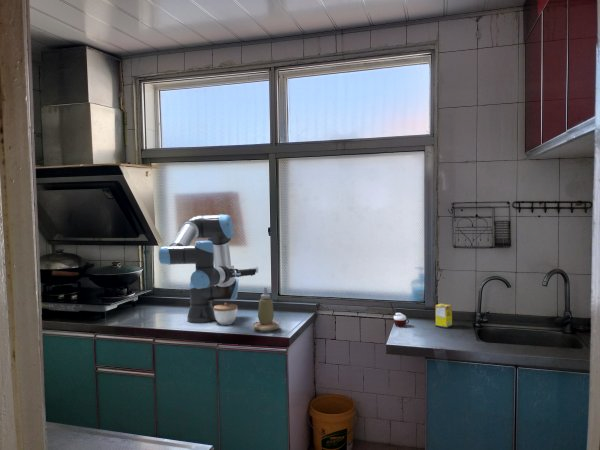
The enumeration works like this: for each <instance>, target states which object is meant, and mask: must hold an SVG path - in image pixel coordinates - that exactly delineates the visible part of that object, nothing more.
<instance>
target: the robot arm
mask: <svg viewBox="0 0 600 450" xmlns="http://www.w3.org/2000/svg"><path fill="white" fill-rule="evenodd" d="M177 232H178V233H177V234H176V235H175V237H174V238H173V240H172V241H171V243H170V244H169V246H168V245H165V246H161V247H160V248H159V250H158V261H159V264H161V265H169V266H170V265H195V271H193V272H192V273H191V275H190V279H189V280H190V282H189V304H190V306H189V310H188V314H187V316H186V319H187V322H189V323H195V324H202V323H210V322H213V321H215V320H216V319H215V316H214V306H213V301H234V300H237V298H238V290H239V278H241V277H247V276H249V277H253V276H255V275H256V274H257V273H259V266H254V267H250V268H245V269H238V268H235V265H232V261H231V253H230V242H231V240H232V238H234V235H235V234H234V233H235V230H234V223H233V220H232V217H231V216H230V215H229V214H223V213H221V214H197V215H194V216H191V217H189V218H188V219H185V221H183V222H182V223H181V224H180V225H179V227H178V231H177ZM196 239H207V240H196ZM195 240H196V241H195ZM193 241H195V242H194V245H191V244H192V243H193Z"/></svg>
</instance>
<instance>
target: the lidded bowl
mask: <svg viewBox="0 0 600 450" xmlns="http://www.w3.org/2000/svg"><path fill="white" fill-rule="evenodd" d="M238 309H239V308H238V305H237V304H235V303H227V302H226V301H224V303H221V304H220V303H219V304H216V305H214V306H213V310H214V316H215V320H216V322H217V323H218V324H219V325H222V326H224V325H232V324H233V323H234V322H235V321H236V319H237V316H238Z"/></svg>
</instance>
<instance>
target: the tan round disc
mask: <svg viewBox="0 0 600 450" xmlns="http://www.w3.org/2000/svg"><path fill="white" fill-rule="evenodd" d="M252 328H253V330H256V331H257V332H259V333H272V332H274V331H276V330H277V329H279V328H280V323H279V322H278V321H274V320H273V321H272V323H271V324H268V325H263V324H260V321H259V320H258V321H255V322H254V323H253V324H252Z"/></svg>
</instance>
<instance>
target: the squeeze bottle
mask: <svg viewBox="0 0 600 450" xmlns="http://www.w3.org/2000/svg"><path fill="white" fill-rule="evenodd" d="M267 288H268V287H264V288H263V292H262V294H260V299H259V301H258V309H257V310H258V311H257V320H258V322H259V321H260V324H263V325H268V324H271V323H272V321H274V317H275V314H274V312H275V311H274V305H273V304H274V303H273V299H271V294H269V293H268V289H267Z"/></svg>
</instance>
